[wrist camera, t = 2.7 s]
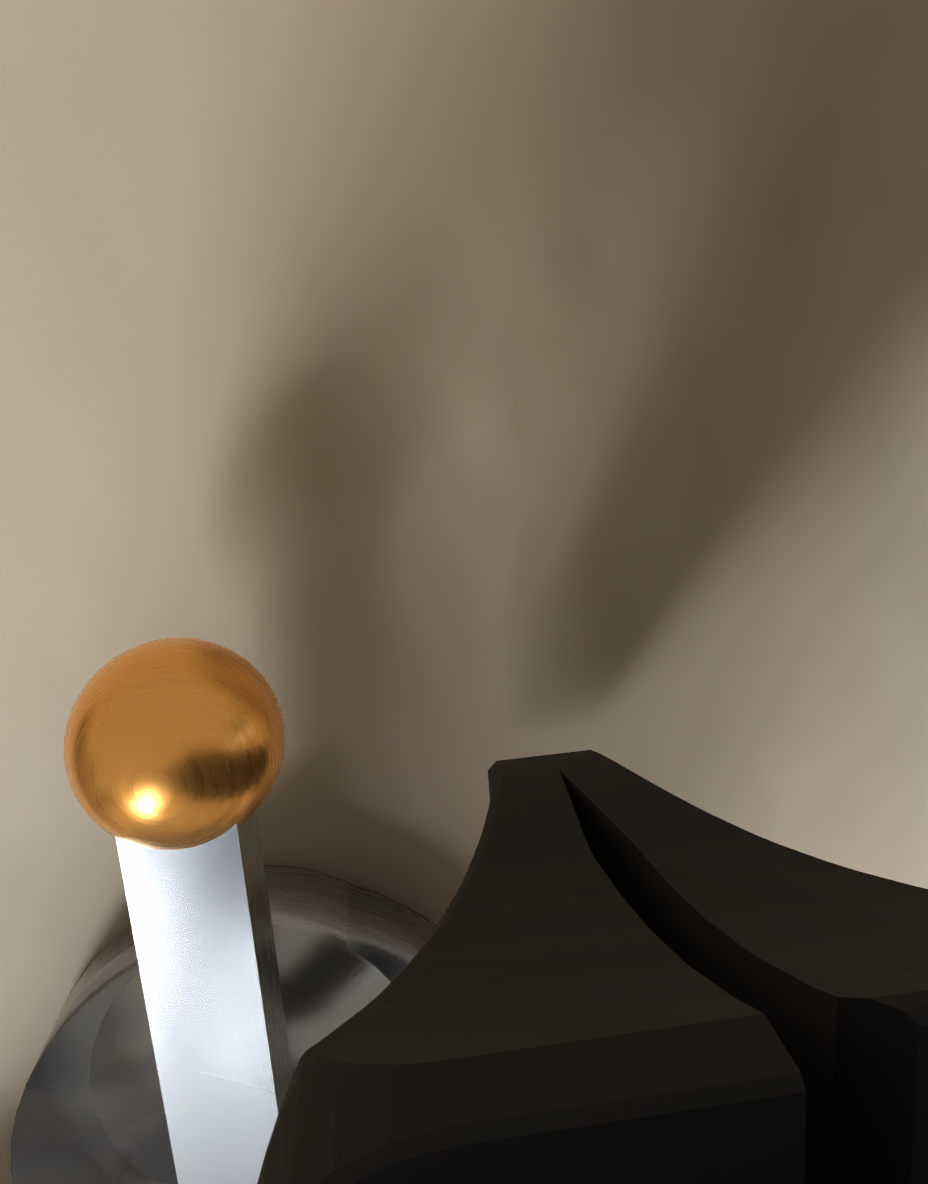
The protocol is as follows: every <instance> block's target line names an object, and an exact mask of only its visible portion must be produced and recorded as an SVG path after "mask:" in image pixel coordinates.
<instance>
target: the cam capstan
mask: <svg viewBox="0 0 928 1184" xmlns="http://www.w3.org/2000/svg"><path fill="white" fill-rule="evenodd" d="M284 741H285V736H284V724H283V719H282V714H281V711H280V708H279V705H278V702H277V699H276V697H275V695H274V693H273V691H272V689H271V687H270V686H269V684H268V683H267V681H266V680H265V678H264V677H263V676H262V675H261V674H260V673H259V672H258V670H257V669H256V668H255V667H254V666H252V665H251V664H250V663H249V662H248V661H247V660H245V659H244V658H243V657H241V656H240V655H238V654H236V653H235V652H233V651H231V650H229V649H227V648H225V647H223V646H221V645H218V644H215V643H212V642H208V641H203V640H199V639H191V638H167V639H160V640H155V641H151V642H148V643H144V644H141V645H139V646H136V647H134V648H132V649H129V650H127V651H125V652H123V653H122V654H120V655H118V656H117V657H115V658H113V659H112V660H111V661H110V662H108V663H107V664H106V665H105V666H103V667H102V668H101V669H100V670H99V671H98V672H97V673H96V674H95V675H94V676H93V677H92V678H91V679H90V680H89V682H88V683H87V685H86V686H85V687H84V689H83V690H82V692H81V693H80V695H79V696H78V698H77V700H76V702H75V704H74V706H73V708H72V711H71V714H70V717H69V720H68V723H67V727H66V733H65V738H64V758H65V767H66V772H67V776H68V780H69V783H70V785H71V787H72V790H73V792H74V794H75V796H76V798H77V800H78V801H79V803H80V805H81V806H82V808H83V809H84V810H85V812H86V813H87V814H88V815H89V817H90V818H91V819H92V820H93V821H94V822H96V823H97V824H98V825H99V826H100V827H101V828H103V829H104V830H105V831H107V832H108V833H109V834H111V835H113V836H115V839H116V844H117V850H118V855H119V861H120V866H121V872H122V877H123V883H124V888H125V894H126V899H127V905H128V910H129V916H130V921H131V927H130V928H128V929H127V930H126V931H124V932H123V933H122V934H120V935H119V936H118V937H117V938H115V939H114V940H113V941H112V942H111V943H110V944H109V945H108V946H107V947H106V948H105V949H104V950H103V951H102V952H101V953H100V954H99V955H98V956H97V957H96V958H95V959H94V960H93V961H92V963H91V964H90V965H89V967H88V968H87V969H86V971H85V972H84V973H83V975H82V976H81V977H80V979H79V980H78V981H77V983H76V984H75V986H74V988H73V990H72V992H71V994H70V995H69V997H68V999H67V1001H66V1003H65V1005H64V1006H63V1009H62V1011H61V1013H60V1015H59V1017H58V1019H57V1021H56V1023H55V1025H54V1027H53V1030H52V1032H51V1034H50V1036H49V1038H48V1040H47V1042H46V1044H45V1046H44V1049H43V1051H42V1053H41V1055H40V1057H39V1059H38V1061H37V1063H36V1065H35V1068H34V1070H33V1072H32V1074H31V1076H30V1078H29V1080H28V1082H27V1084H26V1087H25V1090H24V1093H23V1096H22V1098H21V1101H20V1104H19V1107H18V1109H17V1113H16V1118H15V1123H14V1129H13V1134H12V1141H11V1170H12V1177H13V1183H14V1184H257V1183H258V1179H259V1175H260V1172H261V1168H262V1164H263V1160H264V1157H265V1153H266V1150H267V1147H268V1144H269V1141H270V1138H271V1135H272V1132H273V1129H274V1126H275V1123H276V1120H277V1117H278V1114H279V1111H280V1108H281V1106H282V1103H283V1100H284V1098H285V1095H286V1092H287V1090H288V1087H289V1084H290V1082H291V1079H292V1076H293V1074H294V1072H295V1069H296V1067H297V1064H298V1062H299V1059H300V1058H301V1056H302V1055H303V1054H304V1053H305V1052H306V1050H308V1049H309V1048H311V1047H312V1046H314V1045H315V1044H316V1043H318V1042H319V1041H321V1040H322V1039H324V1038H325V1037H326V1036H327V1035H329V1034H330V1033H331V1032H333V1031H334V1030H335V1029H337V1028H338V1027H339V1026H341V1025H342V1024H343V1023H344V1022H346V1021H347V1020H348V1019H350V1018H351V1017H352V1016H354V1015H355V1014H356V1013H358V1012H359V1011H360V1010H361V1009H363V1008H364V1007H365V1006H367V1005H368V1004H369V1003H370V1002H371V1001H372V1000H373V999H375V998H376V997H377V996H378V995H379V994H380V993H381V992H382V991H383V990H384V989H385V988H386V987H387V986H388V985H389V984H390V983H391V982H392V981H393V980H394V979H395V978H396V977H397V975H398V974H399V973H400V972H401V971H402V970H403V969H404V968H405V967H406V966H407V965H408V964H409V963H410V961H411V960H412V959H413V958H414V956H415V955H416V954H417V953H418V951H419V950H420V949H421V947H422V946H423V945H424V943H425V942H426V941H427V939H428V938H429V936H430V935H431V933H432V932H433V931H434V929H435V928H436V927H435V926H434V925H432V924H431V923H430V922H429V921H428V920H426V919H425V918H423V917H421V916H420V915H418V914H416V913H415V912H413V911H412V910H410V909H408V908H407V907H405V906H403V905H401V904H399V903H397V902H395V901H392V900H390V899H388V898H386V897H383V896H381V895H379V894H377V893H374V892H371V891H367V890H364V889H361V888H357V887H354V886H351V885H348V884H346V883H344V882H342V881H340V880H337V879H335V878H333V877H331V876H328V875H325V874H321V873H318V872H315V871H311V870H306V869H300V868H294V867H282V866H264V861H263V854H262V847H261V839H260V832H259V825H258V817H257V810H258V808H259V807H260V806H261V805H262V803H263V802H264V801H265V799H266V798H267V797H268V795H269V793H270V791H271V790H272V788H273V786H274V784H275V781H276V779H277V776H278V773H279V771H280V768H281V764H282V759H283V753H284Z"/></svg>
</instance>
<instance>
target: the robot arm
mask: <svg viewBox="0 0 928 1184" xmlns="http://www.w3.org/2000/svg"><path fill="white" fill-rule="evenodd" d="M488 779H489V792H490V804H489V809H488V813H487V817H486V821H485V824H484V828H483V832H482V835H481V838H480V841H479V844H478V846H477V849H476V851H475V854H474V856H473V859H472V861H471V864H470V866H469V869H468V871H467V873H466V876H465V878H464V880H463V882H462V884H461V886H460V888H459V890H458V892H457V894H456V895H455V897H454V899H453V901H452V902H451V904H450V906H449V908H448V909H447V911H446V913H445V914H444V916H443V917H442V919H441V920H440V922H439V923H438V925H437V926H436V928H435V929H434V931H433V932H432V933H431V935H430V936H429V938H428V939H427V941H426V942H425V943H424V945H423V946H422V947H421V949H420V950H419V951H418V953H417V954H416V955H415V956H414V958H413V959H412V960H411V961H410V963H409V964H408V965H407V966H406V967H405V968H404V969H403V970H402V971H401V972H400V973H399V974H398V975H397V977H396V978H395V979H394V980H393V981H392V982H391V983H390V984H389V985H388V986H387V987H386V988H385V989H384V990H383V991H382V992H381V993H380V994H379V995H378V996H377V997H376V998H375V999H373V1000H372V1001H371V1002H370V1003H369V1004H368V1005H367V1006H365V1007H364V1008H363V1009H361V1010H360V1011H359V1012H358V1013H356V1014H355V1015H354V1016H352V1017H351V1018H350V1019H348V1020H347V1021H346V1022H344V1023H343V1024H342V1025H341V1026H339V1027H338V1028H337V1029H335V1030H334V1031H333V1032H331V1033H330V1034H329V1035H327V1036H326V1037H325V1038H324V1039H322V1040H321V1041H319V1042H318V1043H316V1044H315V1045H314V1046H312V1047H311V1048H309V1049H308V1050H306V1052H305V1053H304V1054H303V1055H302V1056H301V1058H300V1059H299V1062H298V1064H297V1067H296V1069H295V1072H294V1074H293V1076H292V1079H291V1082H290V1084H289V1087H288V1090H287V1092H286V1095H285V1098H284V1100H283V1103H282V1106H281V1108H280V1111H279V1114H278V1117H277V1120H276V1123H275V1126H274V1129H273V1132H272V1135H271V1138H270V1141H269V1144H268V1147H267V1150H266V1153H265V1157H264V1160H263V1164H262V1168H261V1172H260V1175H259V1179H258V1183H257V1184H928V889H924V888H920V887H915V886H912V885H908V884H904V883H900V882H897V881H893V880H889V879H885V878H881V877H878V876H874V875H870V874H866V873H862V872H859V871H855V870H852V869H849V868H846V867H842V866H839V865H836V864H833V863H829V862H826V861H824V860H821V859H818V858H815V857H812V856H810V855H807V854H804V853H801V852H799V851H796V850H793V849H790V848H787V847H785V846H782V845H779V844H776V843H774V842H771V841H769V840H767V839H764V838H762V837H759V836H757V835H754V834H752V833H750V832H748V831H746V830H743V829H741V828H739V827H737V826H735V825H733V824H730V823H728V822H726V821H724V820H722V819H720V818H717V817H715V816H713V815H711V814H709V813H707V812H705V811H703V810H701V809H699V808H697V807H695V806H693V805H691V804H689V803H687V802H686V801H684V800H682V799H680V798H678V797H676V796H674V795H673V794H671V793H669V792H667V791H665V790H663V789H662V788H660V787H658V786H656V785H654V784H653V783H651V782H649V781H647V780H646V779H644V778H642V777H640V776H639V775H637V774H635V773H633V772H632V771H630V770H628V769H626V768H625V767H623V766H621V765H619V764H618V763H616V762H614V761H612V760H611V759H609V758H607V757H605V756H603V755H601V754H599V753H597V752H594V751H592V750H586V751H578V752H569V753H561V754H552V755H544V756H535V757H527V758H518V759H510V760H501V761H496V762H495V763H494V764H493V765H492V766H491V768H490V769H489V770H488Z"/></svg>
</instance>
